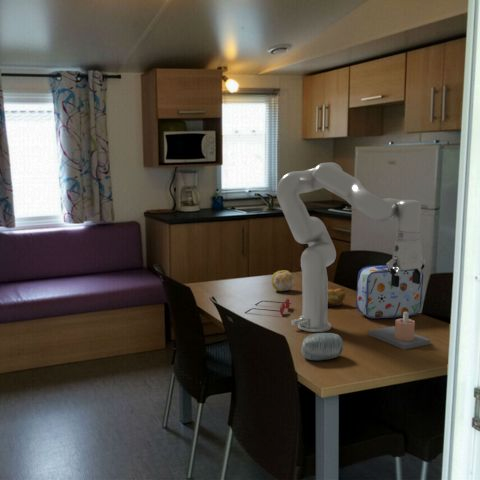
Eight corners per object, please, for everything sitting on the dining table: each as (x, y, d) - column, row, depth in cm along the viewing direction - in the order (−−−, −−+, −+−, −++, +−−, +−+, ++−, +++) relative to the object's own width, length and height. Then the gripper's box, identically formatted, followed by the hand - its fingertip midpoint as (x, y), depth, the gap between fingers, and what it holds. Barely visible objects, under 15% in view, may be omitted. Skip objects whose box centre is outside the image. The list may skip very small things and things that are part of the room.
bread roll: (320, 309, 243) (320, 291, 242) (310, 303, 253) (311, 286, 251) (347, 306, 247) (348, 288, 246) (336, 301, 257) (337, 283, 255)
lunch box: (412, 309, 242) (414, 258, 239) (426, 316, 233) (429, 262, 229) (353, 315, 235) (354, 262, 231) (365, 322, 225) (367, 267, 222)
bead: (404, 341, 197) (404, 325, 196) (391, 336, 203) (391, 320, 202) (418, 338, 200) (418, 322, 199) (404, 333, 206) (405, 317, 205)
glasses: (282, 317, 233) (282, 305, 232) (244, 313, 239) (244, 302, 238) (291, 308, 246) (291, 297, 245) (255, 305, 251) (255, 294, 251)
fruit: (267, 290, 277) (267, 269, 276) (287, 287, 282) (287, 267, 280) (277, 294, 268) (278, 273, 267) (297, 292, 273) (298, 271, 271)
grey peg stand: (404, 349, 194) (405, 318, 192) (368, 334, 209) (369, 305, 208) (430, 343, 199) (431, 313, 198) (393, 329, 215) (394, 301, 213)
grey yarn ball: (338, 340, 193) (336, 320, 187) (348, 362, 186) (346, 341, 179) (299, 351, 192) (296, 331, 186) (307, 373, 185) (304, 353, 179)
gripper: (396, 239, 189) (394, 290, 192) (434, 235, 197) (432, 284, 200) (381, 236, 196) (379, 285, 199) (418, 233, 204) (416, 280, 206)
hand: (405, 284), depth 199 cm, fingers open, 9 cm apart
